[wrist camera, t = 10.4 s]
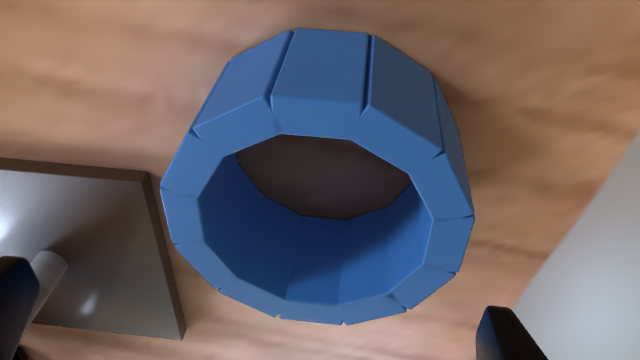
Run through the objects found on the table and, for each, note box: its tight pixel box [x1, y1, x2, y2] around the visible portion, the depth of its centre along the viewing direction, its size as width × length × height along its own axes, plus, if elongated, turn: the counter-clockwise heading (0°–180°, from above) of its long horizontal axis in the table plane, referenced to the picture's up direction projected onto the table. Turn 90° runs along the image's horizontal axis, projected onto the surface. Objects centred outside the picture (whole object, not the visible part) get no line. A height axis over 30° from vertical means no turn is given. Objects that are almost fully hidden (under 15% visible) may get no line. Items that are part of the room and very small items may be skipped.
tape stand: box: [0, 158, 186, 340], centre depth 24 cm, size 12×12×5 cm
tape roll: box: [160, 28, 475, 325], centre depth 19 cm, size 10×10×5 cm
